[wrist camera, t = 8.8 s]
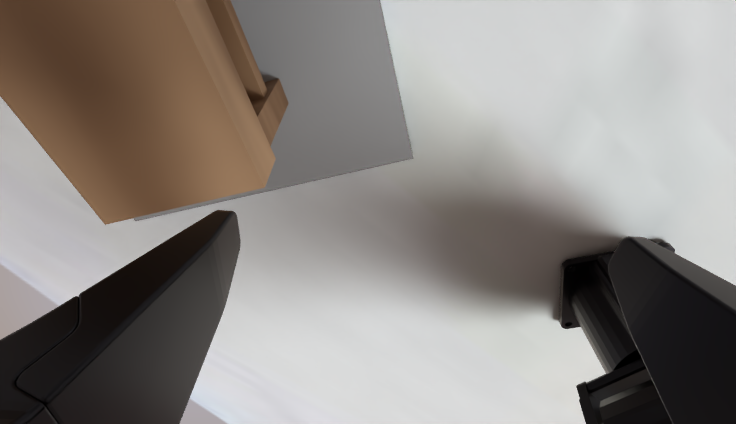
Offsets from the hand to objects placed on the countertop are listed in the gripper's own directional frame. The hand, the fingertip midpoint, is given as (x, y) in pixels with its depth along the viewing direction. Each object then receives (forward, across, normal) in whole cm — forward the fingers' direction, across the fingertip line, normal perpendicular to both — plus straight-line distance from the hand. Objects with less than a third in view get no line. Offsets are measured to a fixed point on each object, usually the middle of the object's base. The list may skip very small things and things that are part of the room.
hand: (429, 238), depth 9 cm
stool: (+11, +9, -2) cm, 14 cm away
